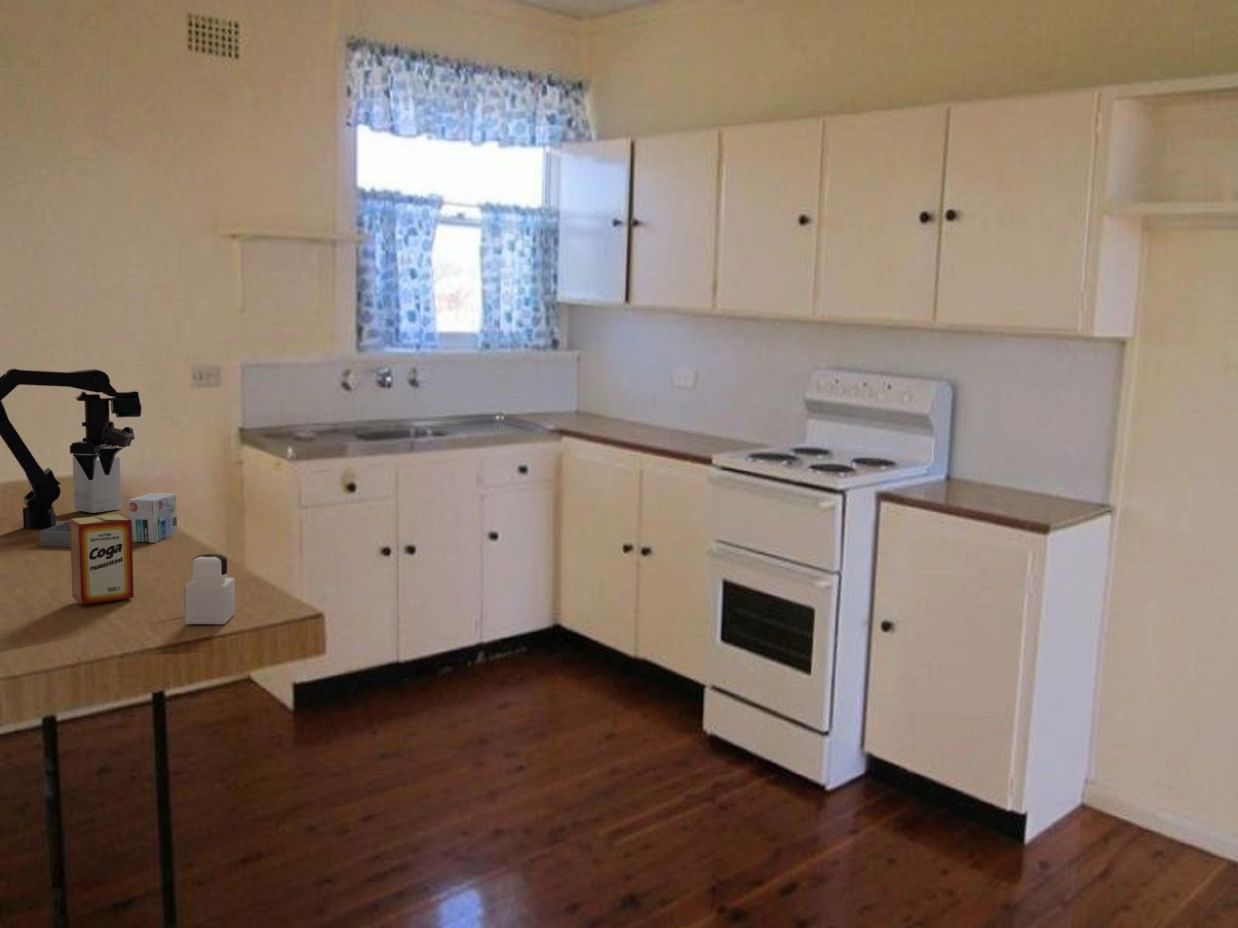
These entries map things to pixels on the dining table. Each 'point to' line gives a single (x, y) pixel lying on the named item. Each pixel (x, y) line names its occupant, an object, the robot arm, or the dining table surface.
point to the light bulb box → (153, 517)
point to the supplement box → (97, 488)
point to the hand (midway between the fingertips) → (99, 477)
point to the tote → (56, 535)
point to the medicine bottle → (209, 591)
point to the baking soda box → (101, 558)
